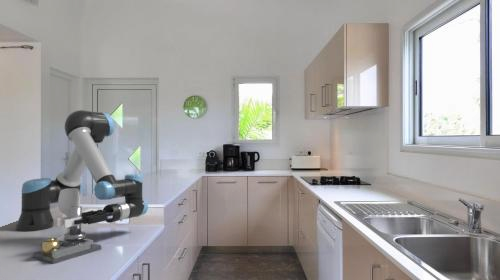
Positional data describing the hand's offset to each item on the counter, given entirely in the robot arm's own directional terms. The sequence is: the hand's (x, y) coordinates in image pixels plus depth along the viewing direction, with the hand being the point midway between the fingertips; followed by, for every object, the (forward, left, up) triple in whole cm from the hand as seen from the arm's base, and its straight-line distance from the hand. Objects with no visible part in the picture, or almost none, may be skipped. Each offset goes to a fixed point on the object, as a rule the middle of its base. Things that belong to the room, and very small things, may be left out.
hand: (61, 223), depth 116 cm
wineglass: (-18, +14, -12) cm, 26 cm away
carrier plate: (+1, +2, -11) cm, 12 cm away
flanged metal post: (0, +5, -7) cm, 9 cm away
